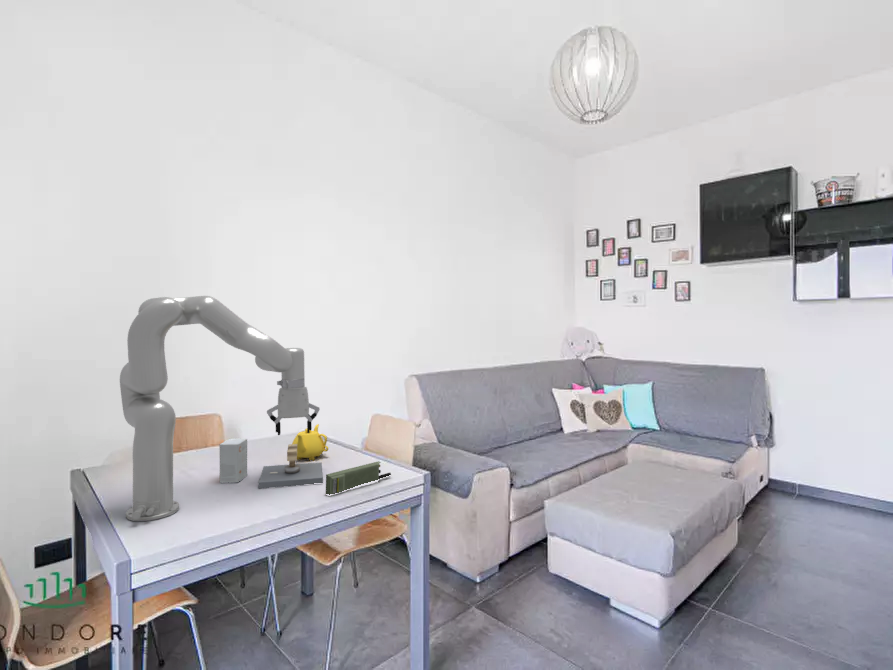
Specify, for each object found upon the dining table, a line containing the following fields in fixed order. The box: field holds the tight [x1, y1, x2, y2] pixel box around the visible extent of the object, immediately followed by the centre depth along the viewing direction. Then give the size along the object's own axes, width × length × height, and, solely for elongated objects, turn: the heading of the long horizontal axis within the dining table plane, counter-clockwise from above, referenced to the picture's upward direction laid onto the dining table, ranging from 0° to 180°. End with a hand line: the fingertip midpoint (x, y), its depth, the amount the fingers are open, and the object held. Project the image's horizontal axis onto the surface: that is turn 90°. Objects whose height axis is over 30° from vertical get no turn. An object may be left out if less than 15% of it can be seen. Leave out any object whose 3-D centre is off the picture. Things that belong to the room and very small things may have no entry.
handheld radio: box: [325, 461, 392, 495], centre depth 154 cm, size 7×3×25 cm
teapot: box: [292, 423, 329, 461], centre depth 186 cm, size 20×15×12 cm
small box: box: [219, 438, 248, 484], centre depth 159 cm, size 8×6×13 cm
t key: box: [285, 444, 300, 473], centre depth 162 cm, size 10×5×8 cm, turn 16°
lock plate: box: [257, 462, 324, 489], centre depth 162 cm, size 18×20×2 cm
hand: (293, 433), depth 162 cm, fingers open, 9 cm apart
